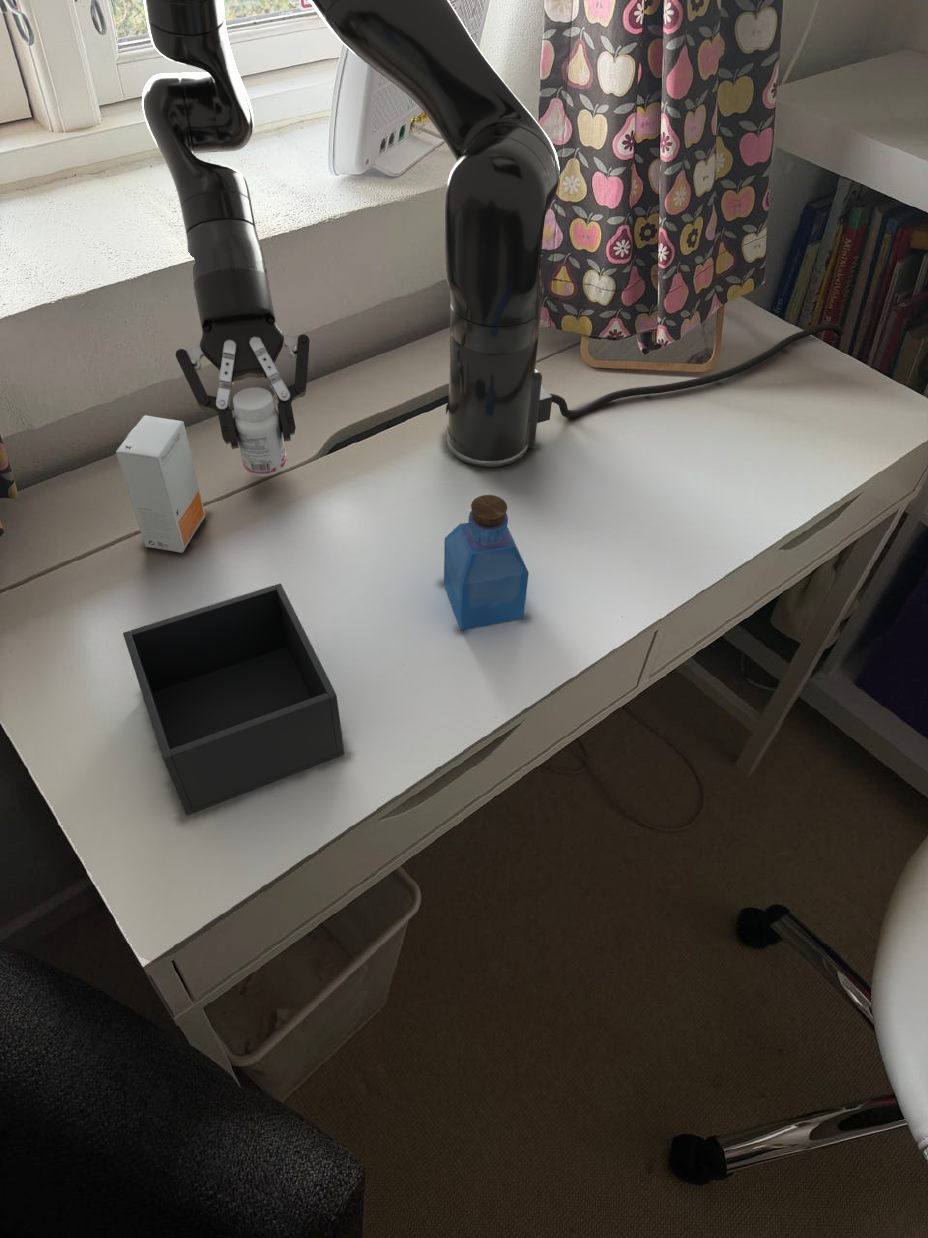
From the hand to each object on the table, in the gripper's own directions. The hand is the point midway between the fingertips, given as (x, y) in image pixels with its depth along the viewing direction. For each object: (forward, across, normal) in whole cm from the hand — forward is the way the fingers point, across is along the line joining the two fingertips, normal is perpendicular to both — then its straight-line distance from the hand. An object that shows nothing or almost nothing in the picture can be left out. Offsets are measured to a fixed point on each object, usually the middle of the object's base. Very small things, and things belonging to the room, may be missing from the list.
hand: (261, 442), depth 92 cm
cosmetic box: (+8, -10, 0) cm, 13 cm away
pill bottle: (+2, 0, +4) cm, 5 cm away
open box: (+26, -6, -18) cm, 32 cm away
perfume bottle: (+20, +18, -12) cm, 29 cm away
